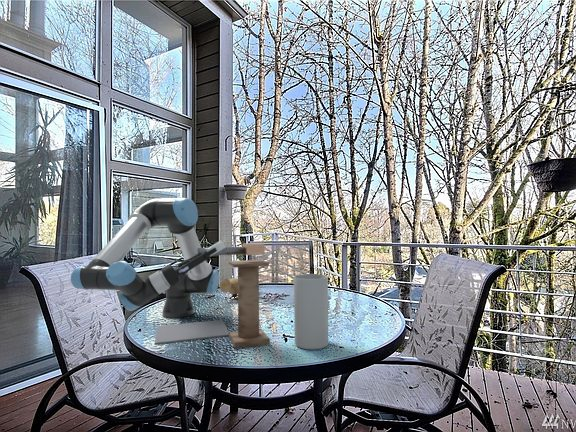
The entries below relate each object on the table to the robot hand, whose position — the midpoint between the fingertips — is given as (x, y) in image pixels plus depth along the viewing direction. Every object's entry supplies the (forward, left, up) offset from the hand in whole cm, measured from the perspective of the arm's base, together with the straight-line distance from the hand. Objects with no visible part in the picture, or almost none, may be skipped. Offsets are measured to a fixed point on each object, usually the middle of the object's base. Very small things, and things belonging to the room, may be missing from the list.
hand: (222, 244), depth 126 cm
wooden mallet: (0, +3, -4) cm, 5 cm away
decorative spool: (-78, +21, -38) cm, 89 cm away
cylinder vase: (+12, +31, -37) cm, 50 cm away
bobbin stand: (0, +10, -37) cm, 38 cm away
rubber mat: (-19, -10, -37) cm, 43 cm away
